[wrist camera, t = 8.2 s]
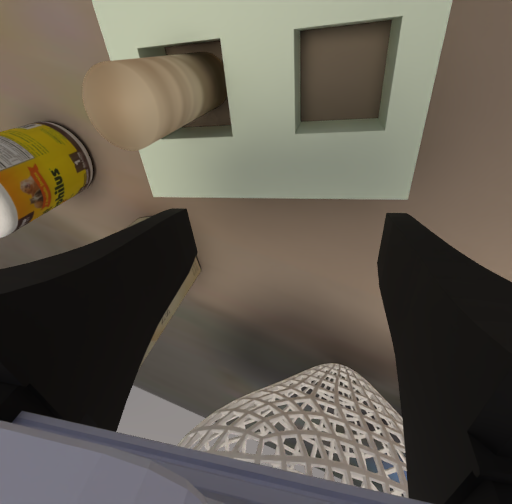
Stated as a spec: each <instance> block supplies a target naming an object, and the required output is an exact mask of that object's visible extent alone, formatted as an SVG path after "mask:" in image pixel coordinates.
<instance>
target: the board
mask: <svg viewBox="0 0 512 504" xmlns="http://www.w3.org/2000/svg"><path fill="white" fill-rule="evenodd" d="M452 1H453V0H92V3H93V6H94V9H95V13H96V16H97V19H98V22H99V25H100V28H101V32H102V35H103V38H104V41H105V44H106V47H107V51H108V54H109V57H110V60H111V61H114V60H125V59H135V58H146V57H156V56H166V52H165V47H170V46H178V45H186V44H194V43H203V42H211V41H219V40H220V41H221V49H222V57H223V64H224V72H225V80H226V87H227V95H228V103H229V110H230V118H231V125H224V126H204V127H184V128H182V127H181V128H179V129H177V130H175V131H174V132H172V133H170V134H168V135H166V136H165V137H163V138H161V139H159V140H158V141H156V142H154V143H152V144H151V145H149V146H147V147H145V148H143V149H141V150H139V152H140V156H141V159H142V162H143V165H144V168H145V171H146V175H147V178H148V181H149V184H150V187H151V191H152V194H153V197H202V198H294V199H386V200H408V196H409V192H410V187H411V183H412V178H413V174H414V170H415V165H416V161H417V156H418V152H419V147H420V143H421V138H422V134H423V130H424V125H425V121H426V116H427V112H428V107H429V103H430V98H431V94H432V90H433V85H434V81H435V76H436V72H437V67H438V63H439V58H440V54H441V50H442V45H443V41H444V36H445V32H446V27H447V23H448V19H449V14H450V10H451V5H452ZM385 20H392V22H391V30H390V37H389V44H388V51H387V59H386V66H385V73H384V80H383V88H382V95H381V102H380V109H379V116H378V118H366V119H346V120H326V121H305V122H301V117H300V31H302V30H311V29H319V28H327V27H336V26H344V25H352V24H361V23H369V22H377V21H385Z"/></svg>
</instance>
